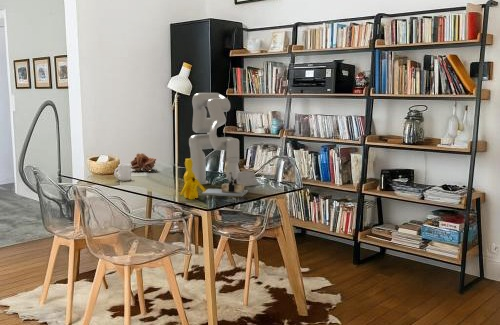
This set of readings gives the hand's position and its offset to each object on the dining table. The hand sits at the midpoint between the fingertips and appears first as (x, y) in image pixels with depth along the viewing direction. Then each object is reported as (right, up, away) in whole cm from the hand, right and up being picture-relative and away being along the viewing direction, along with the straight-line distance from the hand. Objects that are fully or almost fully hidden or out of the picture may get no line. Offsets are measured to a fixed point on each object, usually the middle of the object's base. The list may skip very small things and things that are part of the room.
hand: (232, 190), depth 302 cm
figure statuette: (-23, -4, -12) cm, 26 cm away
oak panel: (0, -1, 0) cm, 1 cm away
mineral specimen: (-71, +10, +90) cm, 115 cm away
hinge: (+7, +1, +29) cm, 30 cm away
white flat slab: (-5, -2, +1) cm, 5 cm away
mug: (-76, +4, +48) cm, 90 cm away
